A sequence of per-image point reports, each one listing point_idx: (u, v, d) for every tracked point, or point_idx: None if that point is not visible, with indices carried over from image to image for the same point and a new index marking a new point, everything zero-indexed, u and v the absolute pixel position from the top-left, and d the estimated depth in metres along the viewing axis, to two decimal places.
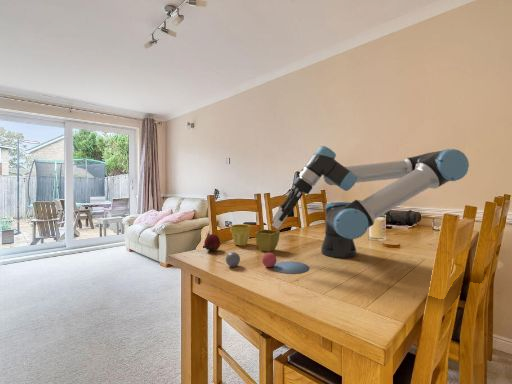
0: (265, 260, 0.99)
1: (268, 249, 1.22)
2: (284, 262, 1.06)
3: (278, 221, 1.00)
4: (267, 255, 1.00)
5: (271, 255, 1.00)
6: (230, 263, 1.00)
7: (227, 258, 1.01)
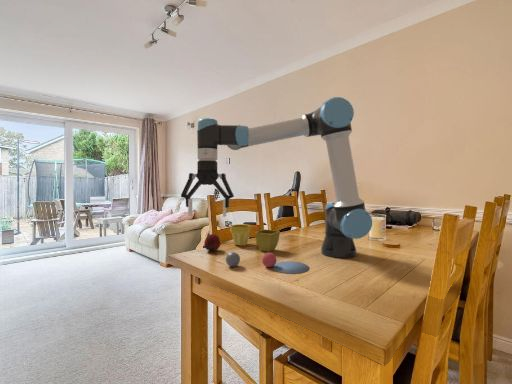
0: (265, 260, 0.99)
1: (268, 249, 1.22)
2: (284, 262, 1.06)
3: (225, 209, 1.02)
4: (267, 255, 1.00)
5: (271, 255, 1.00)
6: (230, 263, 1.00)
7: (227, 258, 1.01)
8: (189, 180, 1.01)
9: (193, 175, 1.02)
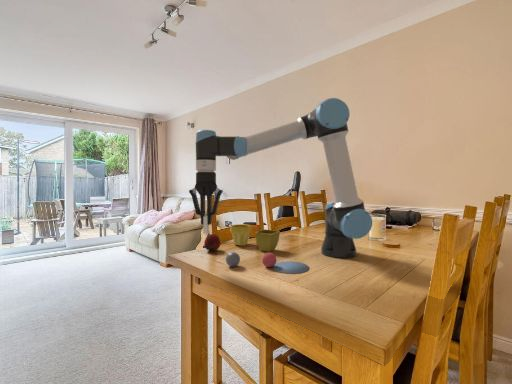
0: (265, 260, 0.99)
1: (268, 249, 1.22)
2: (284, 262, 1.06)
3: (208, 226, 1.02)
4: (267, 255, 1.00)
5: (271, 255, 1.00)
6: (230, 263, 1.00)
7: (227, 258, 1.01)
8: (193, 196, 1.01)
9: (193, 190, 1.02)
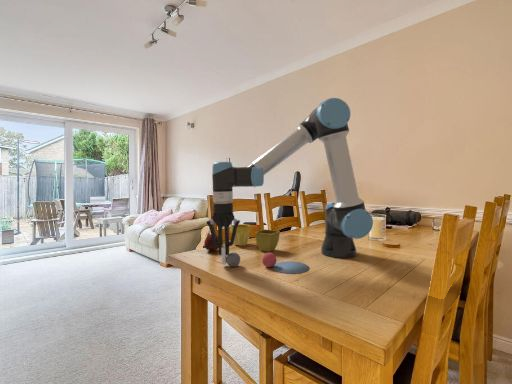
0: (265, 260, 0.99)
1: (268, 249, 1.22)
2: (284, 262, 1.06)
3: (225, 256, 1.02)
4: (267, 255, 1.00)
5: (271, 255, 1.00)
6: (230, 263, 1.00)
7: (227, 258, 1.01)
8: (211, 227, 1.01)
9: (210, 221, 1.02)
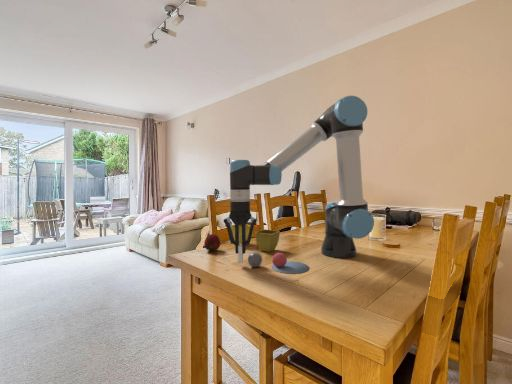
0: (280, 258, 0.99)
1: (268, 249, 1.22)
2: None
3: (242, 255, 1.02)
4: (284, 258, 1.00)
5: (285, 262, 1.00)
6: (254, 259, 0.99)
7: (259, 260, 1.00)
8: (227, 225, 1.01)
9: (227, 219, 1.01)
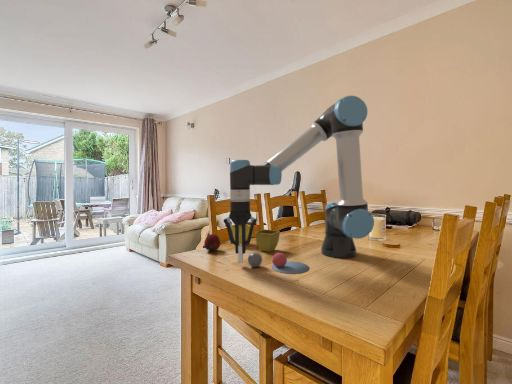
0: (280, 258, 0.99)
1: (268, 249, 1.22)
2: None
3: (242, 255, 1.02)
4: (284, 258, 1.00)
5: (285, 262, 1.00)
6: (254, 259, 0.99)
7: (259, 260, 1.00)
8: (227, 225, 1.01)
9: (227, 219, 1.01)
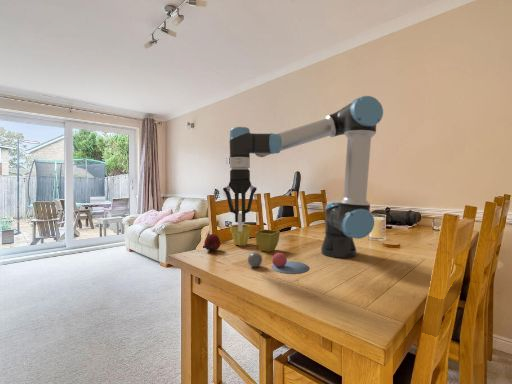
0: (280, 258, 0.99)
1: (268, 249, 1.22)
2: None
3: (242, 224, 1.01)
4: (284, 258, 1.00)
5: (285, 262, 1.00)
6: (254, 259, 0.99)
7: (259, 260, 1.00)
8: (227, 194, 1.00)
9: (227, 188, 1.01)
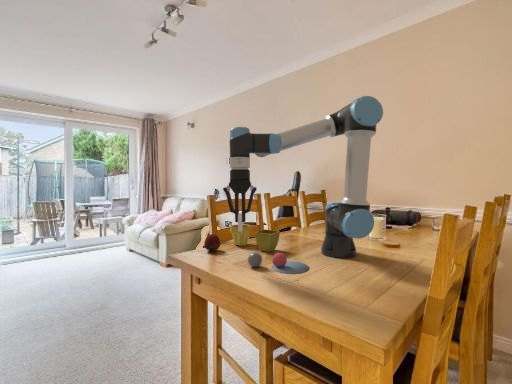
0: (280, 258, 0.99)
1: (268, 249, 1.22)
2: None
3: (242, 224, 1.01)
4: (284, 258, 1.00)
5: (285, 262, 1.00)
6: (254, 259, 0.99)
7: (259, 260, 1.00)
8: (227, 194, 1.00)
9: (227, 188, 1.01)
